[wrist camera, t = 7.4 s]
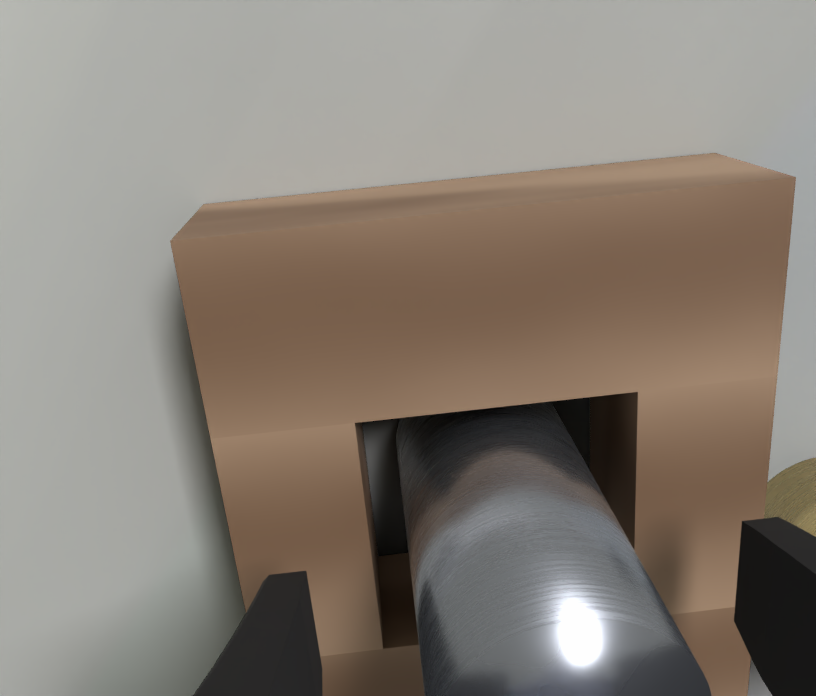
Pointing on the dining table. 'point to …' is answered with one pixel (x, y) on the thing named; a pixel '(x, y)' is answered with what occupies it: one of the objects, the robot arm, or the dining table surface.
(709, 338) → the collar block
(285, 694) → the robot arm
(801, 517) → the brass pin short
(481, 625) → the steel pin long
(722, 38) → the dining table surface
